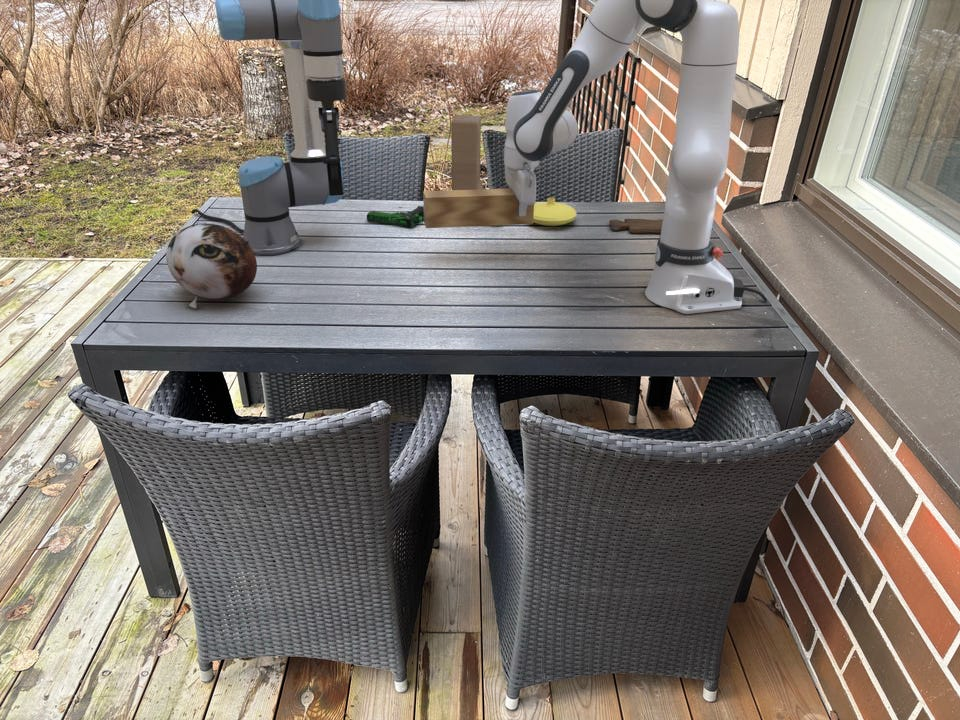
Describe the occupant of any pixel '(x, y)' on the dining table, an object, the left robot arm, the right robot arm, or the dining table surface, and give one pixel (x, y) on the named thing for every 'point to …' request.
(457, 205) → the bar
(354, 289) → the dining table surface
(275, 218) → the left robot arm
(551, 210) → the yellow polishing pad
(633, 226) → the dark wooden board
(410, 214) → the handgun
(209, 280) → the cat face balloon
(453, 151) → the decorative block
